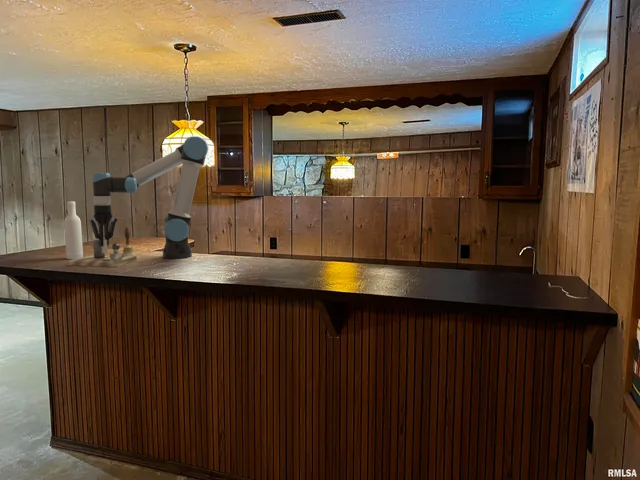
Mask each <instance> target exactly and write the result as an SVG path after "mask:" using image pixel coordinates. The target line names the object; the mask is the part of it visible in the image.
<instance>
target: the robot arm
mask: <svg viewBox="0 0 640 480" xmlns="http://www.w3.org/2000/svg"><path fill="white" fill-rule="evenodd" d="M208 152H209V145H208V143H207V141H206V140H205V139H204V138H202V137H201V136H199V135H191V136H189V137H187V138H186V139H185V141H184V142H183V144H181V145H180V146H178V147H176V148H175V150H174V151H173V152H170V153H169V154H167V155H164V156H163V157H161V158H159V159H157V160H155V161H153V162H151V163H149V164H148V165H147V164H146V165H145V166H143V167H141V168H139V169H138V170H136V171H134V172H132V173H130V174H127V175H126V176H123V177H121V176H119V177H118V176H116V177H113V176H111V174H110V173H109V172H94V173H93V174H92V190H93V204H94V206H93V211H94V214H93V218H90V219H88V222H89V223H90V225H91V229H92V232H93V235H94V237H95V239H96V240H97V239H99V240H100V246H102V253H105V254H106V253H107V254H108V248H107V246H109V243H110V239H113V237H114V231H115V228H116V227H115V225H116V223H117V221H118V219H117V218H115V217H114V216H113V215H112V205H111V204H112V195H111V193H113V194H114V193H120V194H121V193H124V194H126V193H127V194H132V193H134V194H135V193H136V192H137V191H138V188H139V187H140V186H141V187H142V186H143V185H145V184H146V183H148V182H151V181H153V180H154V179H157V178H158V177H160V176H162V175H164V174H166V173H167V172H170V171H171V170H173V169H176V168H177V167H179V166H181V165H182V166H181V170H180V173H179V179H178V182H177V188H176V191H175V195H174V200H173V205H172V209H171V210H169V211H168V212H167V214H166V215H164V220H163V221H164V228H163V230H164V231H163V232H164V237H165V243H164V244H165V245H164V247H163V251H162V257H163V258H164V259H185V258H190V257H191V256H193V252H192V249H191V246H190V243H189V233H190V226H191V221H192V216H191V214H190V212H191V208H192V204H193V200H194V199H193V198H194V195H195V191H196V186H197V182H198V181H197V180H198V177H199V174H200V169H201V168H202V167H204V166H205V162H206V157H207V154H208ZM96 222H97V224H96ZM109 225H110V226H109ZM97 226H98V227H97Z"/></svg>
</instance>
